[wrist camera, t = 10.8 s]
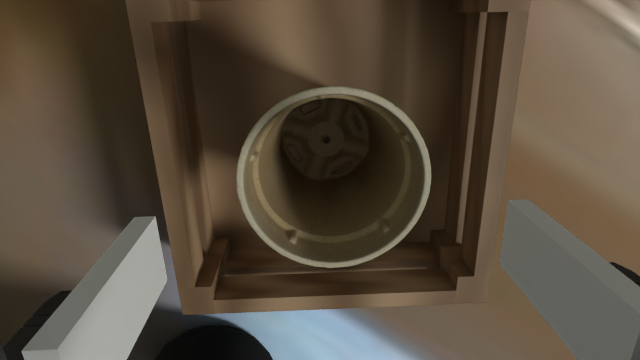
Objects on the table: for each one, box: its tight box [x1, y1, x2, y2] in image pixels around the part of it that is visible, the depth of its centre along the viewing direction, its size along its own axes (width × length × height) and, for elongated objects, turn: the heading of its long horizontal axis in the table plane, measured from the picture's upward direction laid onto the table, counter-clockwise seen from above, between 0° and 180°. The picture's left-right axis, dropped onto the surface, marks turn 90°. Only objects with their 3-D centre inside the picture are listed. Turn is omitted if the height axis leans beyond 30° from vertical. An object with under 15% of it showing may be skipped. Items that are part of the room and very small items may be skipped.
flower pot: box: [236, 86, 431, 268], centre depth 24 cm, size 9×9×9 cm
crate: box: [125, 0, 531, 315], centre depth 26 cm, size 19×19×7 cm
